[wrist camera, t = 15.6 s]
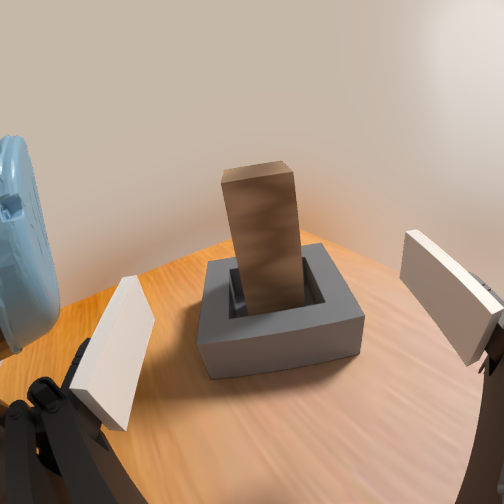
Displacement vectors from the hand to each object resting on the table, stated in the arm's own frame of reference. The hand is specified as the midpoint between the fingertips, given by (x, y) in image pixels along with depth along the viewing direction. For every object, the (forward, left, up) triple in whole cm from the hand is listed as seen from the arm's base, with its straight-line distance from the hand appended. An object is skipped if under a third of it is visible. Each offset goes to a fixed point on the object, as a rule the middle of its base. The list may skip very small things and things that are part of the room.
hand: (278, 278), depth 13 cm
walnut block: (0, +11, -11) cm, 15 cm away
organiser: (0, +11, -12) cm, 16 cm away
